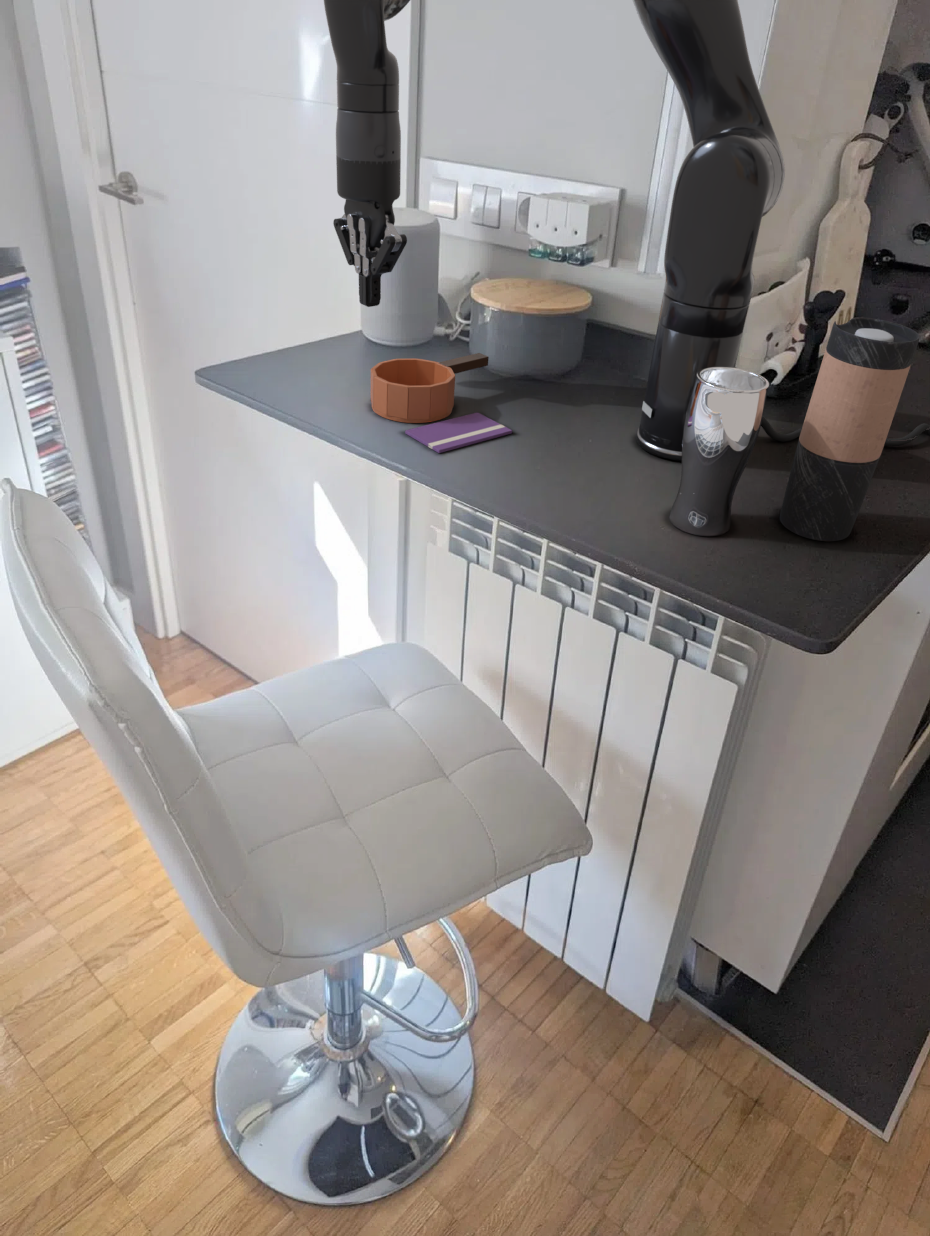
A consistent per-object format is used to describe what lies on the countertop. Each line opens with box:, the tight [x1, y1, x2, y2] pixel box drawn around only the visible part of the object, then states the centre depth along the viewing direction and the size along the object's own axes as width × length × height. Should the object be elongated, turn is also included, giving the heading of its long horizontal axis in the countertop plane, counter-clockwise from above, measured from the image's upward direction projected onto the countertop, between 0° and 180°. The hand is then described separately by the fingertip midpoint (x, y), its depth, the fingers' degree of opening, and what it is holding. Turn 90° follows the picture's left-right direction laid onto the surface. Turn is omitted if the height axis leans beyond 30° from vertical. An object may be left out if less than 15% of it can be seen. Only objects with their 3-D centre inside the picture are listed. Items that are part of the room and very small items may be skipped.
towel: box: [404, 412, 513, 454], centre depth 107 cm, size 11×6×1 cm, turn 129°
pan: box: [370, 352, 490, 424], centre depth 113 cm, size 17×10×5 cm, turn 132°
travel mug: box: [779, 317, 920, 542], centre depth 88 cm, size 8×8×20 cm
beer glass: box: [668, 367, 770, 537], centre depth 88 cm, size 7×7×15 cm
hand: (369, 304), depth 116 cm, fingers closed
